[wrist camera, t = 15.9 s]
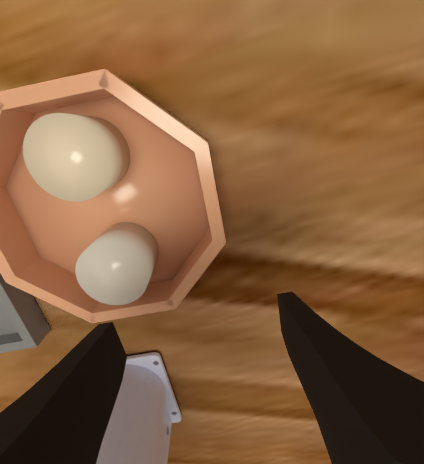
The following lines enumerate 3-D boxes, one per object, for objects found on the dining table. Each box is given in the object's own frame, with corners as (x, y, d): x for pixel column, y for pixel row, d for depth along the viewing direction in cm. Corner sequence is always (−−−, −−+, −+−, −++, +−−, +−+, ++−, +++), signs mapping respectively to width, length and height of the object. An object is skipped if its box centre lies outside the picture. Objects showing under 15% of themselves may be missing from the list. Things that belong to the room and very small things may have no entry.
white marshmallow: (165, 269, 20) (157, 297, 16) (111, 280, 20) (92, 311, 17) (148, 216, 18) (134, 235, 15) (89, 229, 18) (63, 251, 15)
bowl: (231, 272, 21) (236, 298, 18) (59, 302, 22) (34, 332, 18) (193, 66, 16) (190, 50, 12) (-33, 114, 16) (-92, 111, 13)
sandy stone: (138, 181, 17) (122, 193, 14) (75, 193, 18) (44, 208, 14) (118, 109, 16) (94, 104, 12) (48, 123, 16) (6, 122, 13)
